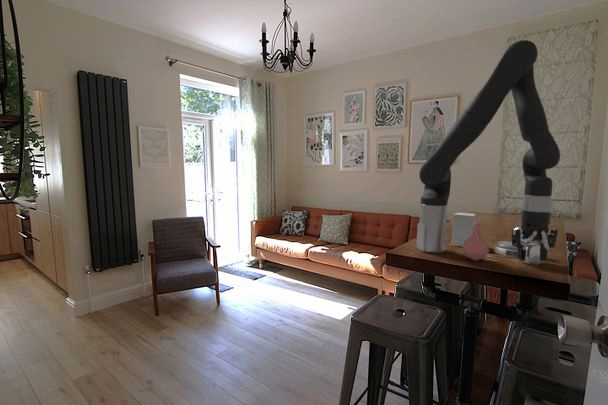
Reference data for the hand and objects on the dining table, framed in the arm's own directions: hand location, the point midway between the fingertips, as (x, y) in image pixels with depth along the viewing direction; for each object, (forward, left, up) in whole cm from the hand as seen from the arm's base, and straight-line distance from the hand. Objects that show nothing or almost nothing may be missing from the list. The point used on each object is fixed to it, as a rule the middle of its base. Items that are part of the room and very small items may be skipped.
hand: (531, 259), depth 103 cm
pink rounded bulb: (-17, +4, -1) cm, 17 cm away
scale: (+1, +11, -1) cm, 11 cm away
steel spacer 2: (0, 0, -1) cm, 1 cm away
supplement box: (-10, +24, -1) cm, 26 cm away
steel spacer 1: (+4, +11, +2) cm, 11 cm away
